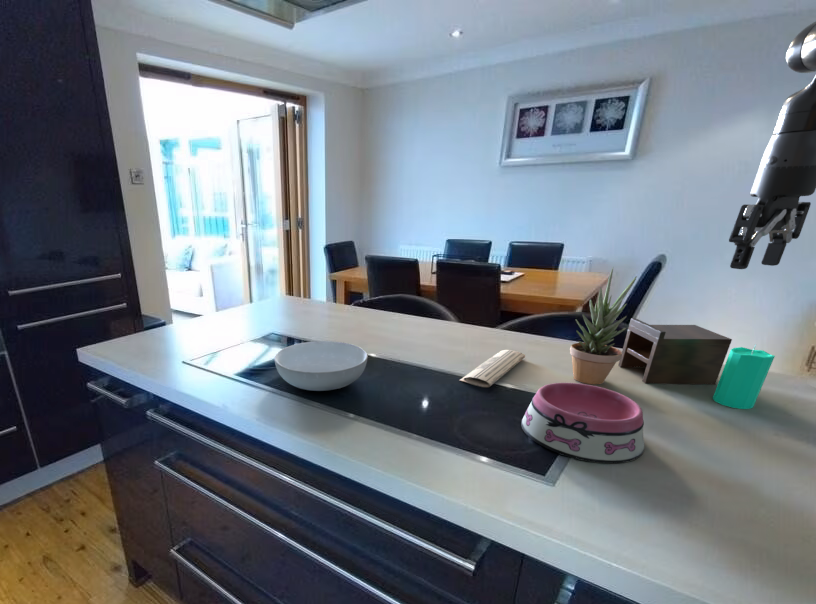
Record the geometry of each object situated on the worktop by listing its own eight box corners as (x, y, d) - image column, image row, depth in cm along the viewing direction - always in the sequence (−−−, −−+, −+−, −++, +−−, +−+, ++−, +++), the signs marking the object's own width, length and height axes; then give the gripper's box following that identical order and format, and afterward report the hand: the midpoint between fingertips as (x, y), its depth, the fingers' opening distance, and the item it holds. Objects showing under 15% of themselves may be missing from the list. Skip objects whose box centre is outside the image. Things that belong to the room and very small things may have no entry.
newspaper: (489, 388, 96) (491, 381, 95) (458, 381, 100) (459, 373, 99) (524, 359, 112) (526, 352, 111) (496, 353, 116) (497, 347, 115)
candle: (753, 412, 83) (779, 351, 78) (711, 403, 87) (733, 345, 82) (753, 401, 87) (777, 343, 82) (713, 393, 91) (734, 337, 86)
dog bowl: (657, 434, 76) (668, 399, 73) (624, 478, 65) (636, 438, 62) (545, 402, 89) (552, 370, 86) (502, 434, 78) (508, 399, 75)
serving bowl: (291, 363, 113) (290, 338, 111) (372, 369, 108) (373, 343, 105) (262, 397, 95) (260, 367, 92) (358, 406, 90) (359, 375, 87)
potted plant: (617, 377, 99) (648, 266, 90) (609, 391, 93) (641, 272, 83) (568, 368, 106) (591, 262, 96) (557, 380, 99) (581, 268, 89)
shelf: (681, 366, 105) (697, 318, 100) (715, 384, 95) (734, 332, 90) (618, 365, 106) (630, 318, 102) (645, 383, 96) (660, 331, 92)
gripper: (793, 163, 66) (753, 273, 72) (849, 162, 70) (806, 266, 76) (734, 166, 72) (702, 267, 79) (789, 165, 76) (754, 261, 83)
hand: (753, 266), depth 78 cm, fingers open, 8 cm apart
